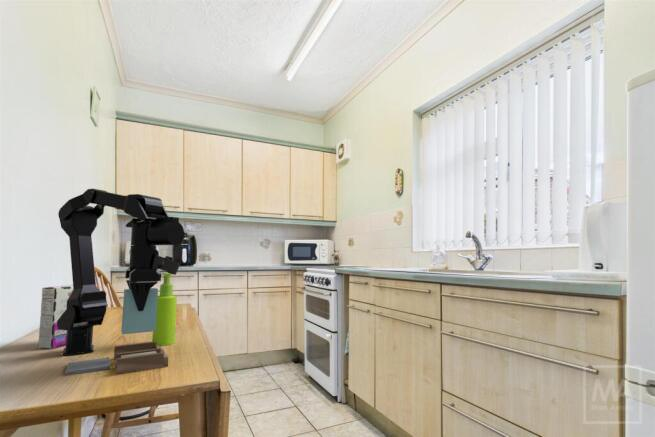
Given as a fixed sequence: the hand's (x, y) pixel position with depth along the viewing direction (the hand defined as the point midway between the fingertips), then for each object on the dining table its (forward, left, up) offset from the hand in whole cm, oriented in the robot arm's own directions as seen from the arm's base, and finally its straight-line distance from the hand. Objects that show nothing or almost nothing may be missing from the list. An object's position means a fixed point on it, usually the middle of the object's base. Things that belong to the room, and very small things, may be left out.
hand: (139, 309), depth 85 cm
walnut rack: (+2, 0, -12) cm, 12 cm away
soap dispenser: (-15, +8, -12) cm, 21 cm away
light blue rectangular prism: (0, 0, -5) cm, 5 cm away
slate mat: (0, -10, -12) cm, 15 cm away
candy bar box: (-29, -16, -12) cm, 35 cm away
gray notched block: (+6, 0, -12) cm, 14 cm away
